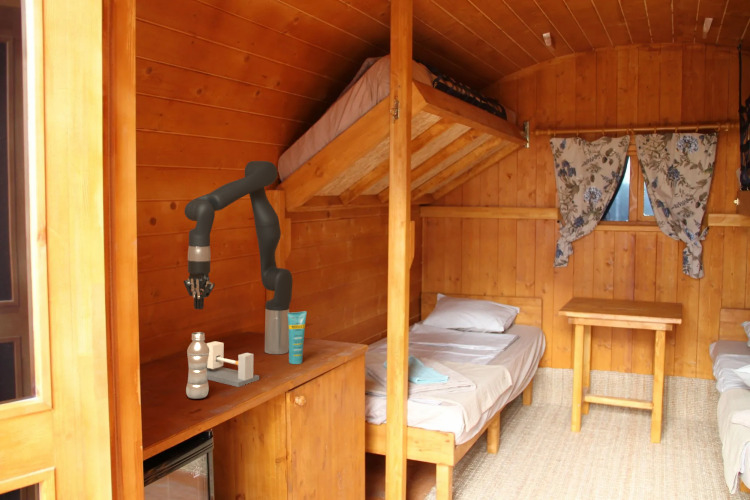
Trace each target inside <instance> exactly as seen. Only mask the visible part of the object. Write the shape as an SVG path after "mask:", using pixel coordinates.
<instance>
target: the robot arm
mask: <svg viewBox="0 0 750 500" xmlns="http://www.w3.org/2000/svg"><path fill="white" fill-rule="evenodd" d="M244 167H245V168H244V177H242V178H239V179H236V180H233V181H230V182H228V183H225V184H223V185H221V186H219V187H218V188H216V189H214V190H212V191H211V192H209V193H206V194H203V195H200V196H198V197H196V198H193V199H191V200H190V201H189V202H187V204H186V205H185V207H184V215H185V217H186V219H188V220H190V221H193V222H196V223H195V227H194V228H192V229H190V230H189V232H188V250H187V273H189V275H188V278H187V279H186V280H183V284H184V287H185V289H186V291H187V294H188V295H189V296H191V297H192V298H193V307H194V310H203V309H204V307H205V304H204V303H205V298H209V296H210V295H211V293H212V291H213V290H214V288H215V285H216V284H215V283H214V282H211V281H210V276H209V275H210V273H211V232H212V229H213V225H214V221H215V215H216V213H215V212H216V211H221V210H223V209H225V208H226V207H228V206H231V205H232V204H233V203H235V202H236V201H238V200H239V199H241V198H243V197H245V196H247V195H249V198H250V202H251V209H252V213H253V219H254V226H255V227H254V228H255V234H256V239H257V245H258V251H259V262H260V276H261V277H260V279H261V282H262V283H261V284H262V285H263V287H264V289H266V290H267V291H270V292H271V291H272V292H273V293H274V294H273V298H271V299H268V300H266V302H265V315H264V316H265V317H264V318H265V322H264V325H265V326H264V353H266V354H270V355H284V354H287V353H289V327H288V313H290V305H291V302H292V297H293V296H292V294H293V284H294V283H293V281H294V280H293V275H292V272H291V270H289V269H287V268H282V267H278V266H277V261H276V251H277V248H278V246H279V242H280V239H281V235H282V234H281V233H282V231H281V224H280V220H279V216H278V213H277V212H276V210H275V209H274V207H273V206H272V204H271V203H270V201H269V198H268V197H267V194H266V190H265V187H269V186H270V185H273V184H274V183H275V181H276V180H277V178H278V168H277V167H276V164H274V163H273V162H272V161H267V160H252V161H249V162H247V164H246V165H245V166H244Z"/></svg>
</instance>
